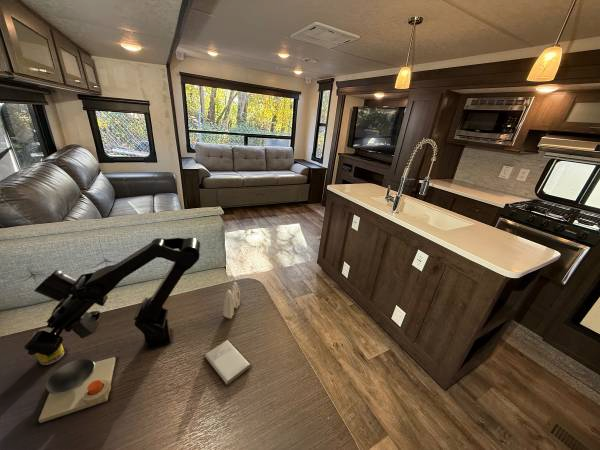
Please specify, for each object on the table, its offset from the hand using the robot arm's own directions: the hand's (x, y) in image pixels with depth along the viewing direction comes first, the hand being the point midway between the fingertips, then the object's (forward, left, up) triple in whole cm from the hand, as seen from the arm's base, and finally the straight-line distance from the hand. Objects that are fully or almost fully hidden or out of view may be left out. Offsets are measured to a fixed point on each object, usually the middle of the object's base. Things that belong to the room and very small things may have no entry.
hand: (39, 341), depth 70 cm
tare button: (-16, +18, -4) cm, 24 cm away
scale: (-11, +14, -7) cm, 19 cm away
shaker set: (-54, -1, -7) cm, 55 cm away
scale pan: (-9, +12, -4) cm, 16 cm away
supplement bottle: (-1, 0, -7) cm, 7 cm away
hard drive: (-48, +21, -7) cm, 53 cm away
